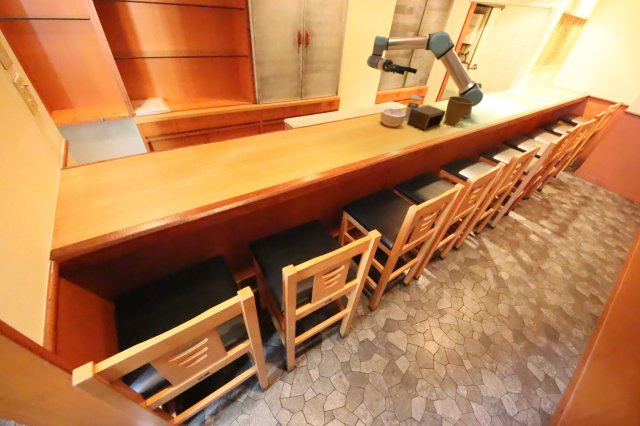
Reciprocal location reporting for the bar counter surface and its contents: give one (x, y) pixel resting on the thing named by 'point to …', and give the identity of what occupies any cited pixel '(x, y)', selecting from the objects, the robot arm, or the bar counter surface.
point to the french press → (412, 104)
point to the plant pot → (456, 109)
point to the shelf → (425, 117)
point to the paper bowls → (392, 117)
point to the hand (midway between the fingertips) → (410, 72)
